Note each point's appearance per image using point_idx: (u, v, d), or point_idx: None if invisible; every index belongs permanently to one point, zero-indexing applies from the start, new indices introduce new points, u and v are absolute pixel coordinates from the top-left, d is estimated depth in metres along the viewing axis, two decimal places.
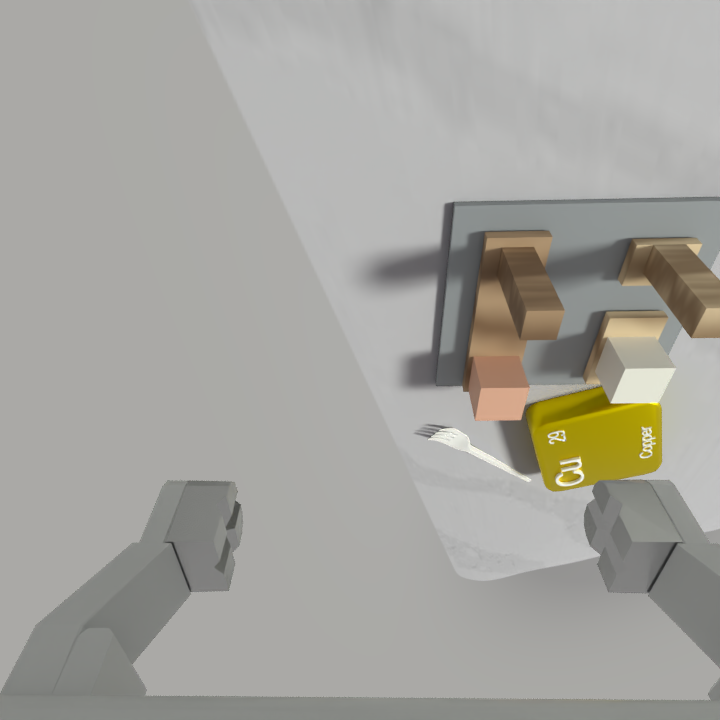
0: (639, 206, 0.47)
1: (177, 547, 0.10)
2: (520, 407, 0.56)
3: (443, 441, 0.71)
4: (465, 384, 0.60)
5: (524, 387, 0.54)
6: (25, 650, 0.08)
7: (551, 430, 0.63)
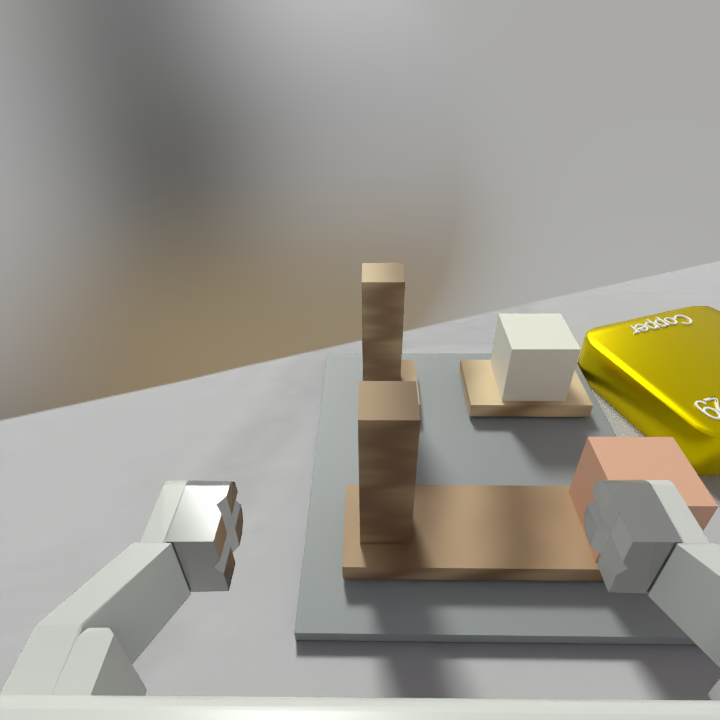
0: (324, 420, 0.42)
1: (177, 547, 0.10)
2: (641, 442, 0.30)
3: None
4: None
5: (590, 443, 0.30)
6: (25, 650, 0.08)
7: (704, 417, 0.37)
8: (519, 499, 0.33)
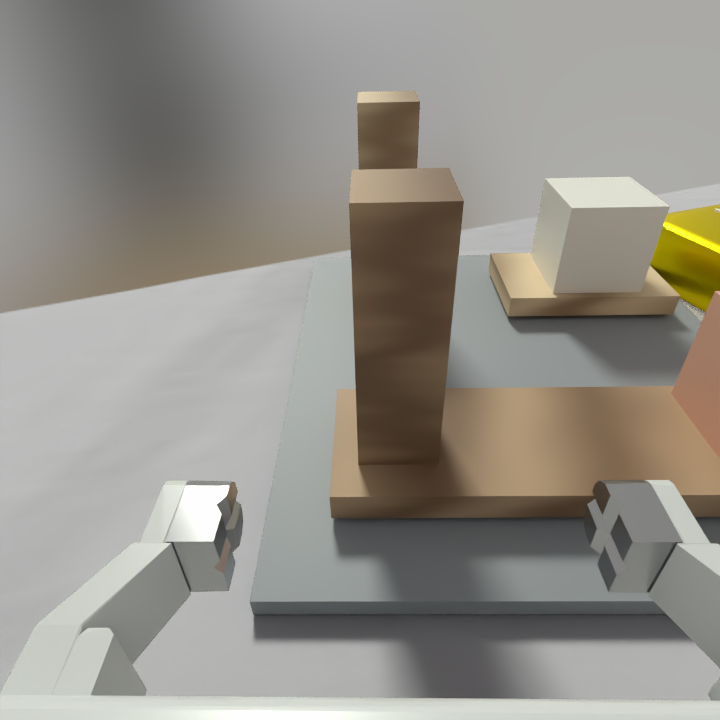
0: (308, 325, 0.30)
1: (177, 547, 0.10)
2: None
3: None
4: None
5: None
6: (25, 650, 0.08)
7: None
8: (599, 403, 0.22)
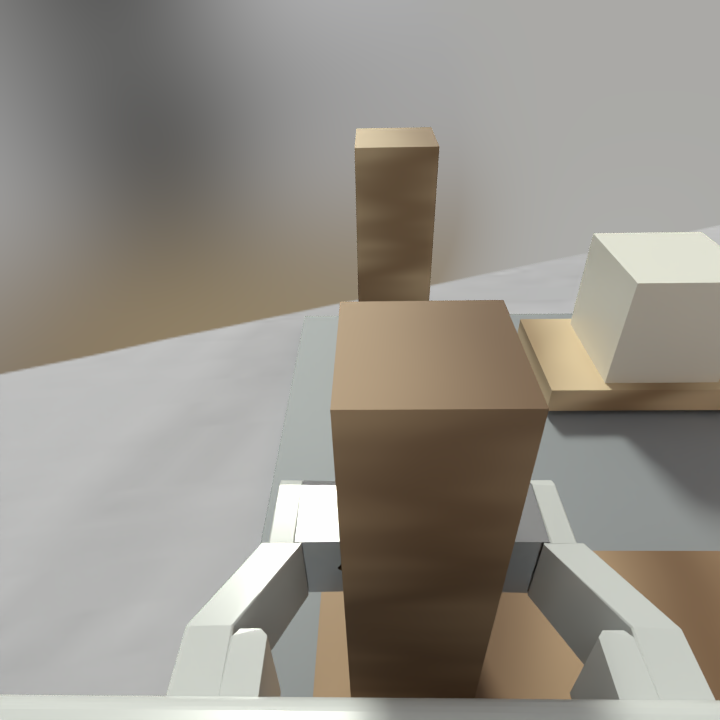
0: (293, 420, 0.24)
1: (306, 547, 0.10)
2: None
3: None
4: None
5: None
6: (182, 651, 0.08)
7: None
8: (695, 584, 0.15)
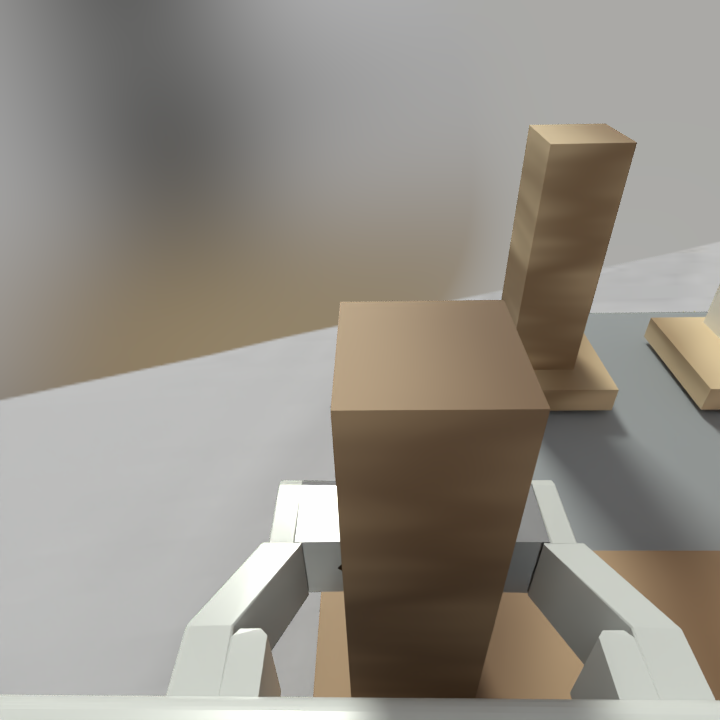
0: None
1: (306, 547, 0.10)
2: None
3: None
4: None
5: None
6: (182, 651, 0.08)
7: None
8: (695, 584, 0.15)
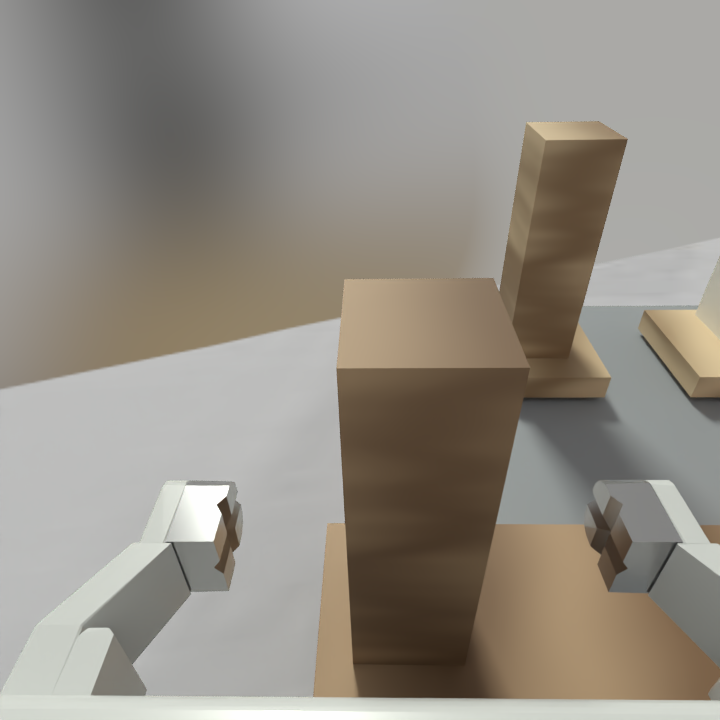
0: None
1: (177, 547, 0.10)
2: None
3: None
4: None
5: None
6: (26, 649, 0.08)
7: None
8: None
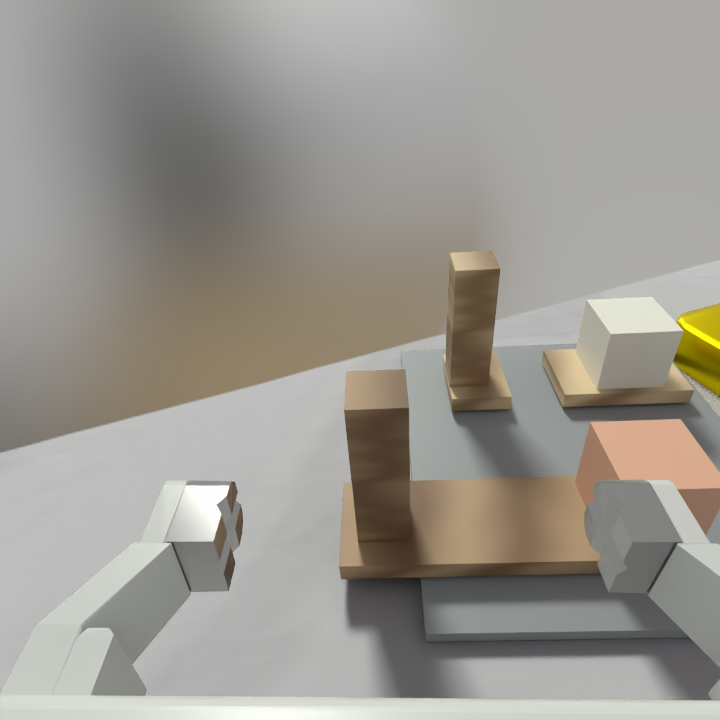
0: (411, 417, 0.41)
1: (177, 547, 0.10)
2: (647, 425, 0.29)
3: None
4: None
5: (593, 429, 0.29)
6: (25, 650, 0.08)
7: None
8: (523, 491, 0.32)
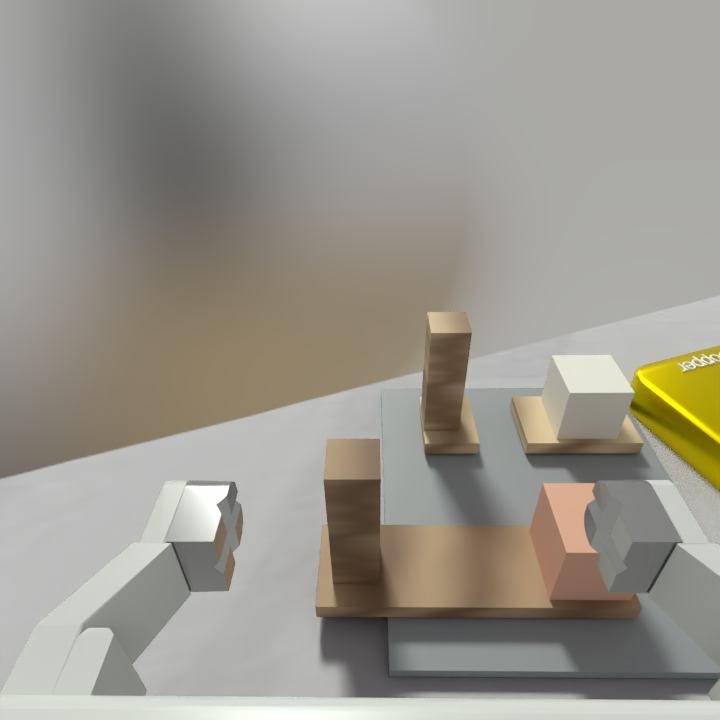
0: (387, 458, 0.44)
1: (177, 547, 0.10)
2: (592, 488, 0.33)
3: None
4: (622, 606, 0.32)
5: (545, 490, 0.33)
6: (25, 650, 0.08)
7: None
8: (483, 538, 0.36)
